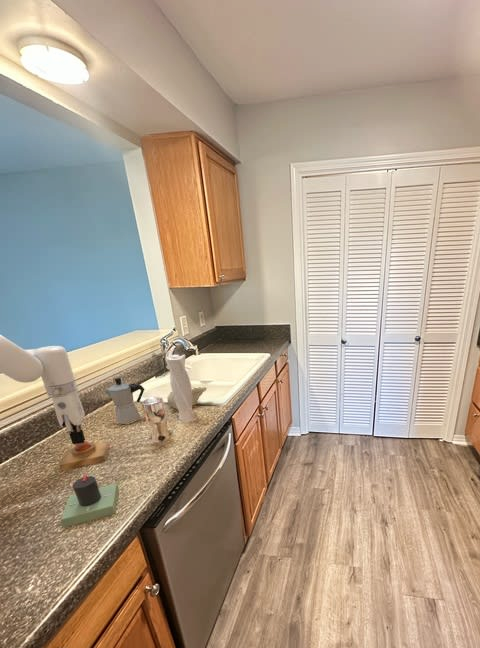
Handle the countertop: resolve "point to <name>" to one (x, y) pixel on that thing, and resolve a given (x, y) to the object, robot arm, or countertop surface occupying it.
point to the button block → (84, 456)
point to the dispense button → (82, 446)
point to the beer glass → (156, 419)
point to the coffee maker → (125, 400)
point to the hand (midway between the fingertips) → (79, 442)
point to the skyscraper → (181, 386)
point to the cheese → (195, 396)
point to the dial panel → (90, 507)
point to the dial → (87, 491)
